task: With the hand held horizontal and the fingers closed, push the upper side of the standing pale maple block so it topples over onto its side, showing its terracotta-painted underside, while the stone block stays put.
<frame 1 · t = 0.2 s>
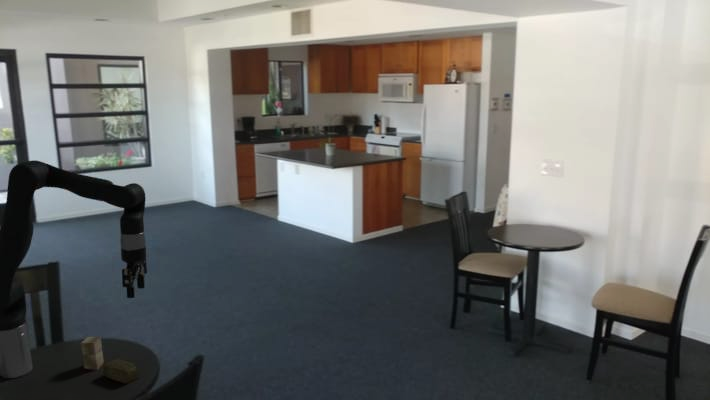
hand: (136, 292, 183), 29 cm above the table, tool pointing down, fingers open, 8 cm apart
maple block: (94, 366, 193), on the table
stone block: (122, 378, 186), on the table
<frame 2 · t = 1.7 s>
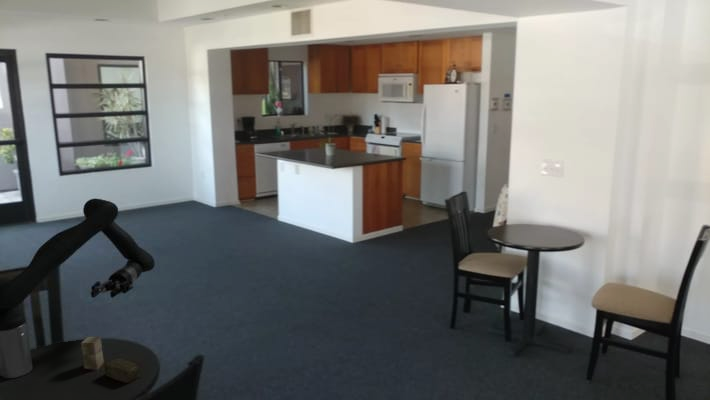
hand: (102, 295, 199), 22 cm above the table, tool horizontal, fingers open, 6 cm apart
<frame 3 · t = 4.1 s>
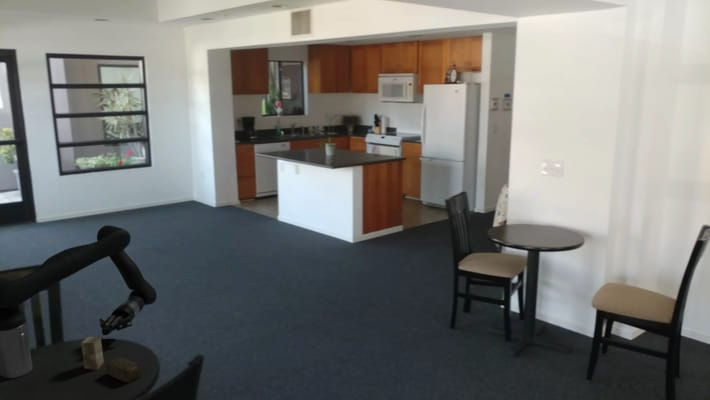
hand: (104, 332, 201), 8 cm above the table, tool horizontal, fingers closed
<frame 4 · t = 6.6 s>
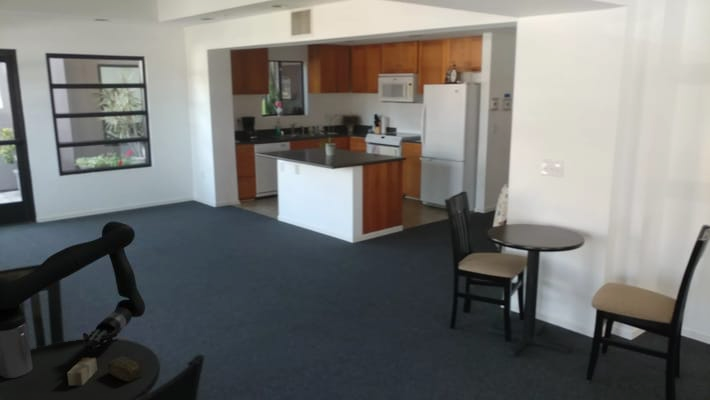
hand: (87, 348, 189), 8 cm above the table, tool horizontal, fingers closed
maple block: (90, 363, 190), point 2 cm above the table, tilted 90°
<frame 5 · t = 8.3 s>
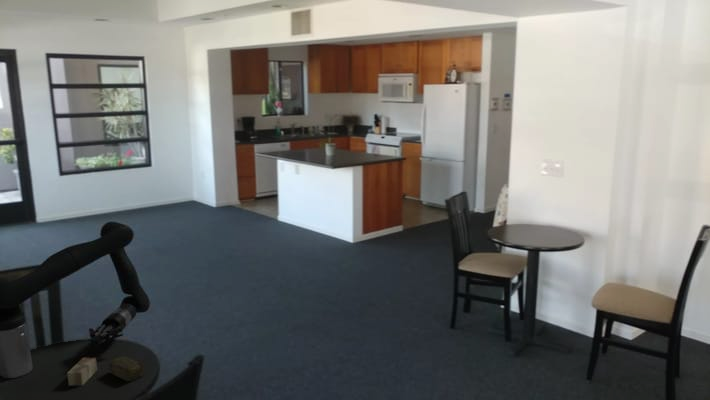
hand: (93, 343, 193), 8 cm above the table, tool horizontal, fingers closed
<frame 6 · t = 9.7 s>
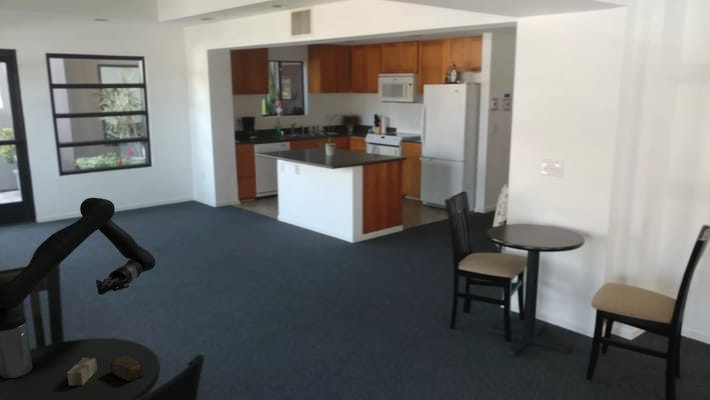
hand: (100, 292, 197), 24 cm above the table, tool horizontal, fingers closed
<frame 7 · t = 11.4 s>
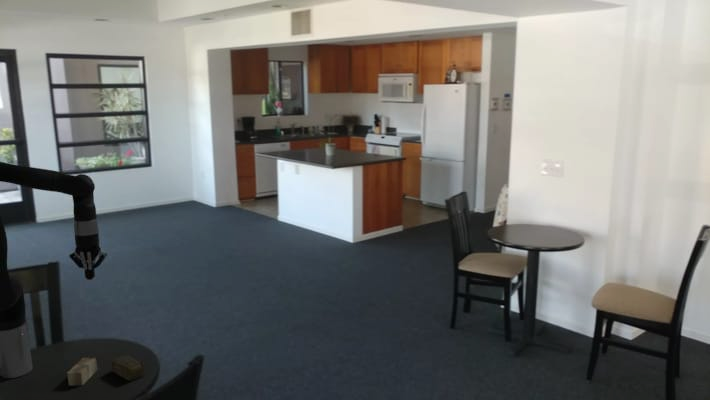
hand: (90, 278, 197), 28 cm above the table, tool pointing down, fingers closed
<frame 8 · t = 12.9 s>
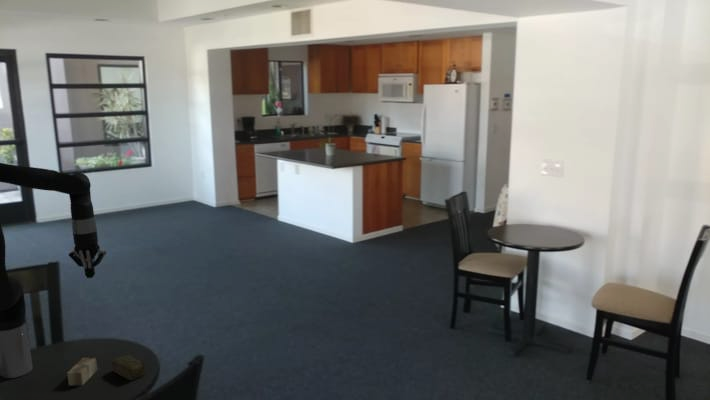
hand: (90, 277, 197), 29 cm above the table, tool pointing down, fingers closed
at the end: maple block tilted 90°; maple block inside the target area (4.3 cm from its centre), point 2.2 cm above the table; stone block moved 2.8 cm from its start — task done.
